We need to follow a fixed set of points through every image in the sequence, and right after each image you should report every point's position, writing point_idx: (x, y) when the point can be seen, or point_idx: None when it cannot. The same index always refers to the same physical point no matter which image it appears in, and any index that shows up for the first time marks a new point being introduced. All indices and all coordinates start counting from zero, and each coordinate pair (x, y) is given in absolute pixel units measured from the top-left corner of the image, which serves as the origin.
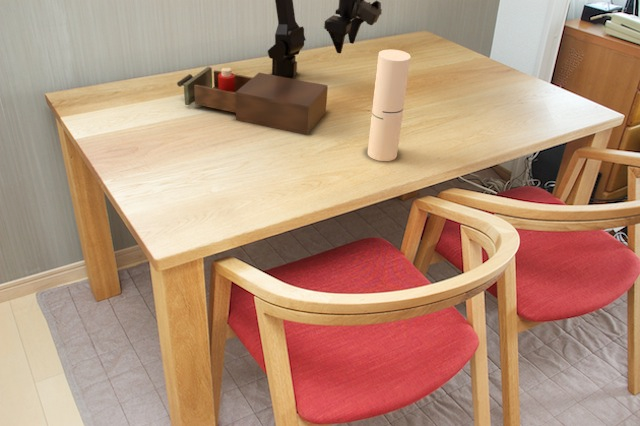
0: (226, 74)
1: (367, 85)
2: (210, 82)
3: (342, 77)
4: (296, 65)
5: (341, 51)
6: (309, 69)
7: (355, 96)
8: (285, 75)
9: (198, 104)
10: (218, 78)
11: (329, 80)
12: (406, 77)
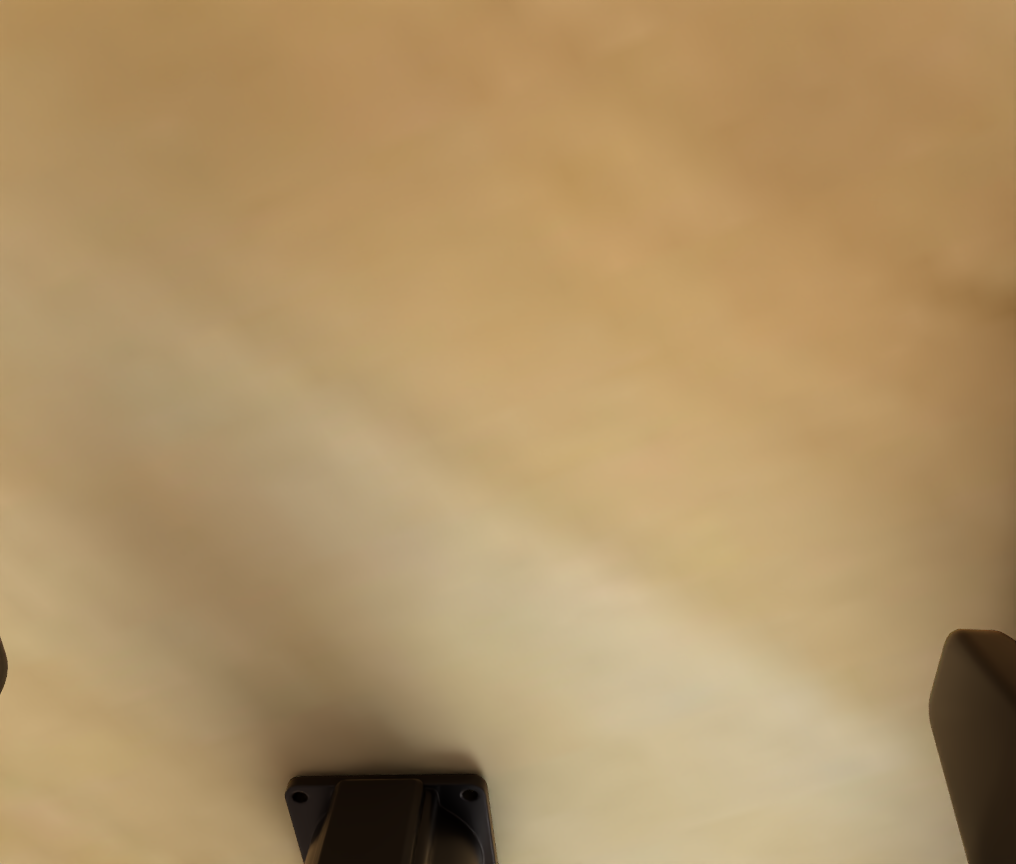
0: None
1: (19, 55)
2: None
3: (40, 415)
4: (329, 861)
5: (987, 653)
6: (110, 729)
7: (453, 62)
8: (459, 840)
9: None
10: None
11: (214, 500)
12: None
